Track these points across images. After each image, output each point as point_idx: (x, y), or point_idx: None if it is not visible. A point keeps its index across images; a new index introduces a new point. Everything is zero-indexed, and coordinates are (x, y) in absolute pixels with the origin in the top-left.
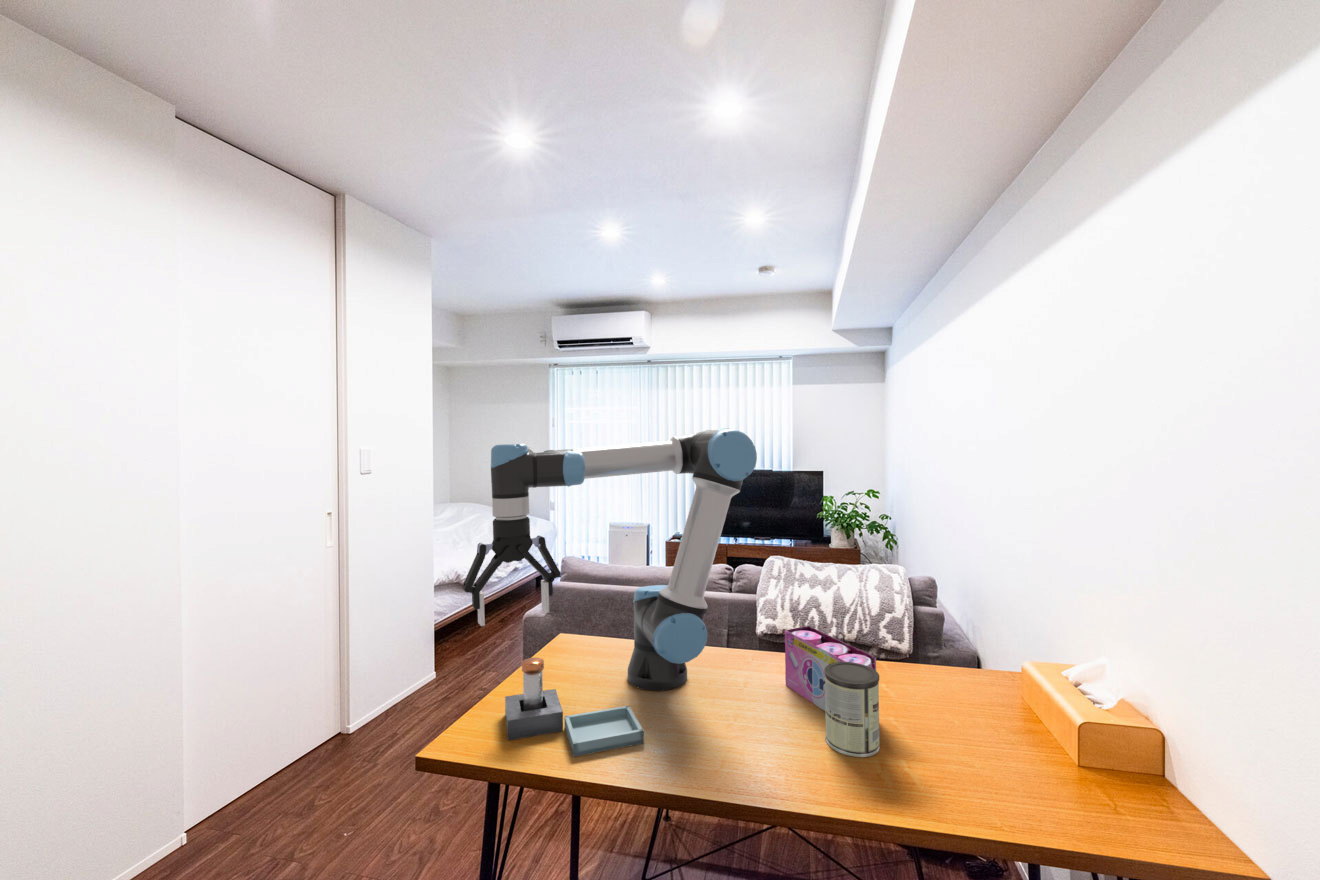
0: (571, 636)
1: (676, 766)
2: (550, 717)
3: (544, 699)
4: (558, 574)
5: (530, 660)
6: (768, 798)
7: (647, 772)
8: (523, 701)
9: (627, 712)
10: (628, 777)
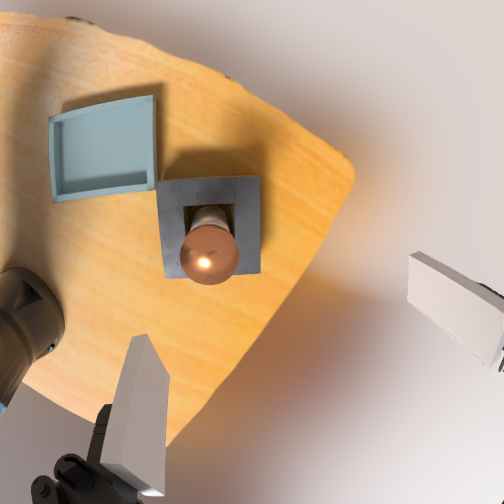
0: None
1: (45, 65)
2: (180, 179)
3: None
4: (39, 487)
5: (215, 268)
6: (10, 23)
7: (77, 54)
8: None
9: (58, 188)
10: (101, 45)
